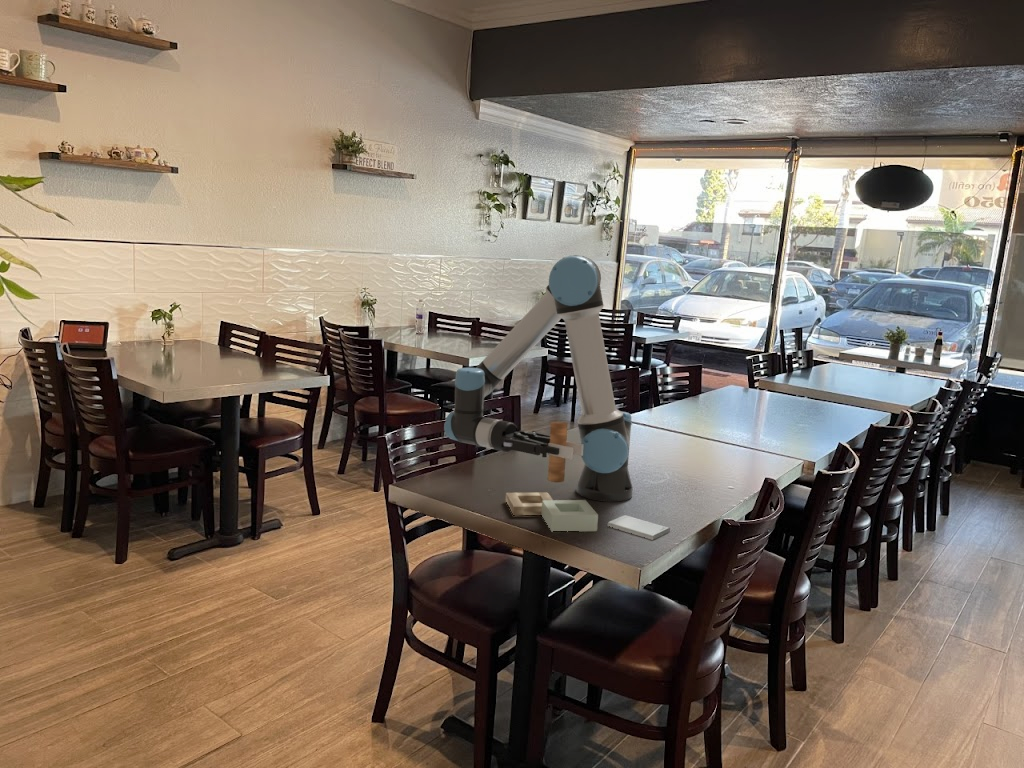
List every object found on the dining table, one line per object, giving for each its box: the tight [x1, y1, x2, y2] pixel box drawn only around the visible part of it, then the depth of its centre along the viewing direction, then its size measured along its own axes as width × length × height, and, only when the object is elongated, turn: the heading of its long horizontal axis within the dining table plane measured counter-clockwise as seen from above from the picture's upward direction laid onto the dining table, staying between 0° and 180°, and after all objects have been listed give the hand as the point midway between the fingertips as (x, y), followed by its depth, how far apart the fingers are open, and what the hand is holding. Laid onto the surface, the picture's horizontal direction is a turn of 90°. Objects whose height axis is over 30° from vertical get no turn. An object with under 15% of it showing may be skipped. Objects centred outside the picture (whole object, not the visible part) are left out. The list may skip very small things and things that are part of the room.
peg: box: [547, 421, 568, 483], centre depth 188 cm, size 4×4×14 cm
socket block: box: [541, 499, 599, 533], centre depth 188 cm, size 11×11×4 cm
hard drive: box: [607, 514, 671, 541], centre depth 187 cm, size 2×8×12 cm
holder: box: [505, 491, 554, 516], centre depth 198 cm, size 11×11×2 cm
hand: (577, 451), depth 185 cm, fingers closed on peg, 4 cm apart
